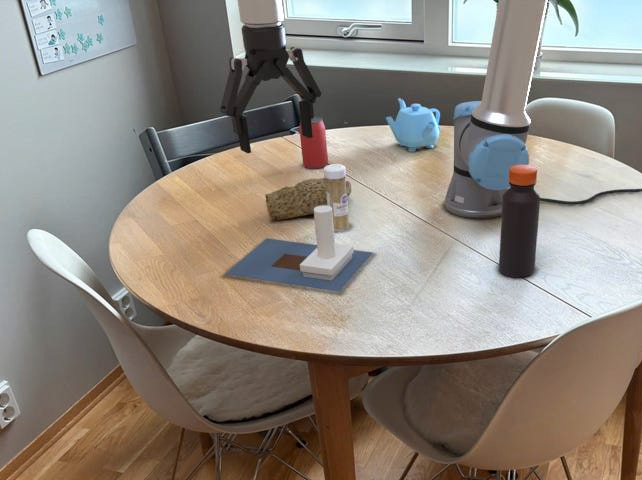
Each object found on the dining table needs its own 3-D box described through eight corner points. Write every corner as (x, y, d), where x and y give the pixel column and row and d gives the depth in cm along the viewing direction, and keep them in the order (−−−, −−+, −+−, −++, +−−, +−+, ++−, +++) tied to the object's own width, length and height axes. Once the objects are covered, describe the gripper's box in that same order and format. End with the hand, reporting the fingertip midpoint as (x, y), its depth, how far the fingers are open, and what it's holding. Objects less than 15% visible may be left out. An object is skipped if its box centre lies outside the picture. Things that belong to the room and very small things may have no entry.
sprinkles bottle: (345, 232, 155) (340, 171, 147) (325, 230, 156) (319, 169, 148) (352, 224, 158) (348, 164, 151) (333, 222, 160) (328, 162, 152)
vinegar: (507, 259, 143) (513, 160, 132) (539, 267, 140) (548, 166, 129) (492, 273, 138) (497, 171, 127) (525, 281, 135) (533, 178, 124)
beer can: (333, 163, 191) (329, 117, 185) (317, 171, 187) (313, 124, 180) (314, 159, 194) (309, 114, 187) (298, 166, 190) (292, 120, 183)
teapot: (380, 150, 199) (379, 108, 193) (399, 136, 210) (398, 96, 204) (433, 156, 195) (432, 113, 188) (449, 141, 205) (450, 100, 199)
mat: (373, 254, 146) (373, 252, 145) (339, 294, 132) (339, 291, 132) (266, 240, 152) (266, 238, 152) (224, 276, 139) (224, 274, 139)
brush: (354, 257, 144) (350, 200, 137) (332, 281, 135) (327, 221, 129) (324, 253, 145) (318, 196, 139) (300, 277, 137) (293, 217, 130)
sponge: (275, 232, 158) (361, 203, 160) (263, 198, 155) (350, 169, 157) (272, 220, 170) (352, 193, 172) (260, 188, 167) (342, 161, 169)
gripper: (310, 12, 136) (321, 126, 148) (187, 30, 123) (209, 153, 135) (333, 17, 131) (341, 134, 143) (206, 36, 118) (227, 163, 130)
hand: (277, 143), depth 139 cm, fingers open, 13 cm apart
